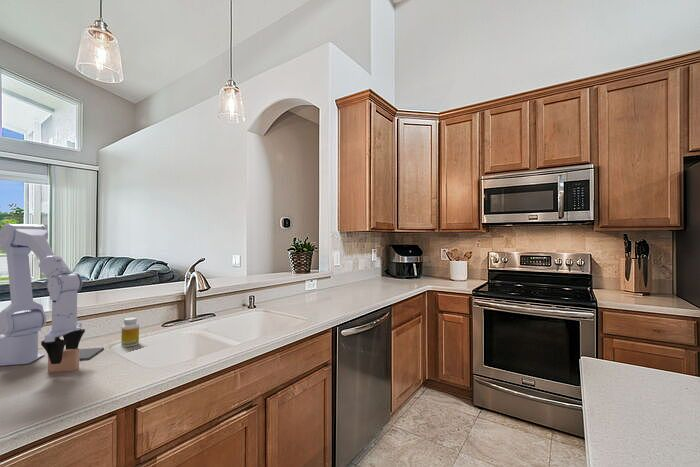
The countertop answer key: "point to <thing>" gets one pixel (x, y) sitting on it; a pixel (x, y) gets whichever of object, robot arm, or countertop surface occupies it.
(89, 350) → the mat
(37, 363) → the countertop surface
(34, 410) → the countertop surface
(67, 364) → the light wood block
